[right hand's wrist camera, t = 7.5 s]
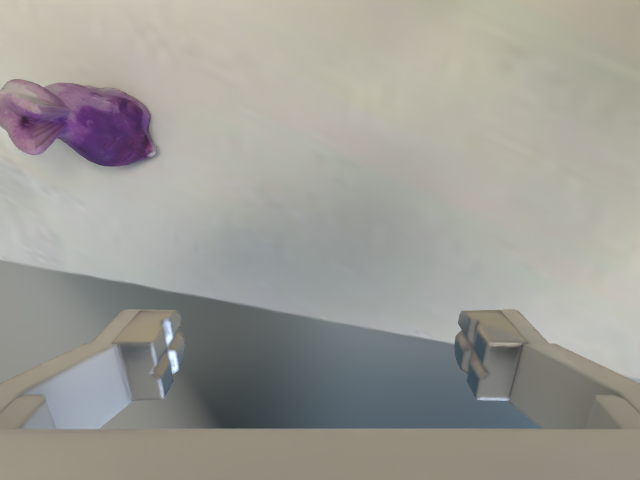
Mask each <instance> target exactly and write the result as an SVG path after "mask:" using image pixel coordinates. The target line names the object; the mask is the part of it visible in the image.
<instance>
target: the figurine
mask: <svg viewBox="0 0 640 480" xmlns="http://www.w3.org/2000/svg"><path fill="white" fill-rule="evenodd" d="M149 121H150V114H149V111H148V110H147V108H146V107H145V106H144V105H143V104H142V103H141V102H139V101H138V100H137V99H135V98H133V97H131V96H129V95H127V94H126V93H124V92H122V91H119V90H116V89H114V88H102V89H98V88H94V87H91V86H82V85H78V84H72V83H56V84H52V85H48V86H46V87H44V88H43V87H42V86H40V85H38V84H35V83H33V82H29V81H26V80H20V79H15V80H10V81H8V82H7V83H6V84H5V85H4V86H3V88H2V89H1V90H0V126H1V127H2V128H3V129H5V130H6V131H7V132H8V134H9V137H10V138H11V140H12V142H13V143H14V144H15V146H16V147H18V149H19V150H21V151H23V152H25V153H27V154H31V155H37V154H41V153H43V152H44V151H45V150H46V149H47V148H48V147H49V146H50V145H51V144H52V143H53V142H54V141H55V139H56V138H57V137H58V138H59V139H61V140H62V141H64V142H65V143H67V144H68V145H69V146H70V147H72V148H73V149H74V150H75V151H76V152H77V153H79V154H80V155H81V156H83V157H84V158H86V159H87V160H89V161H91V162H94V163H96V164H99V165H102V166H122V165H128V164H131V163H133V162H136V161H139V160H143V159H147V158H151V157H153V156H154V155H155V154H156V146H155V145H154V144H153V142H152V140H151V138H150V136H149V133H148V124H149Z"/></svg>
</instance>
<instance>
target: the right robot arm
mask: <svg viewBox="0 0 640 480" xmlns="http://www.w3.org/2000/svg"><path fill="white" fill-rule="evenodd" d="M181 324H182V321H181V316H180V313H179V312H178V311H177V310H141V309H135V310H123V311H121V312H120V313H119V314H118V315H117V316H116V317H115V318H114V319H113V321H112V322H111V323H110V324H109V325H108V326H107V327H106V328H105V329H104V330H103V331H102V332H101V333H100V334H99V335H98V336H97V337H96V339H95V340H94V341H93V342H92V343H91V344H83V345H81V346H79V347H77V348H75V349H73V350H71V351H68V352H66V353H64V354H62V355H60V356H58V357H56V358H54V359H51V360H49V361H47V362H45V363H43V364H41V365H39V366H37V367H34V368H32V369H30V370H28V371H26V372H24V373H22V374H19V375H17V376H15V377H13V378H11V379H9V380H7V381H4V382H2V383H0V480H640V383H637V382H635V381H633V380H631V379H629V378H627V377H625V376H623V375H620V374H618V373H616V372H614V371H612V370H610V369H608V368H606V367H603V366H601V365H599V364H597V363H595V362H593V361H591V360H589V359H586V358H584V357H582V356H580V355H578V354H576V353H574V352H572V351H569V350H567V349H565V348H563V347H561V346H559V345H557V344H549V343H548V342H547V341H546V340H545V339H544V337H543V336H542V335H541V334H540V333H539V332H538V331H537V330H536V329H535V328H534V327H533V326H532V325H531V324H530V323H529V322H528V320H527V319H526V318H525V317H524V316H523V315H522V314H521V313H520V312H519V311H517V310H515V309H507V310H478V311H461V313H460V315H459V320H458V324H459V326H460V327H461V329H462V330H461V331H460V332H459V333H458V334H457V335H456V338H455V346H454V347H455V356H456V360H457V363H458V365H459V367H460V369H461V370H462V371H464V372H465V373H467V374H468V377H467V382H468V384H469V386H470V388H471V390H472V392H473V394H474V396H475V398H476V399H477V400H507V401H509V403H511V404H512V405H513V406H514V407H516V408H517V409H518V410H519V411H520V412H522V413H523V414H524V415H525V416H527V417H528V418H529V419H530V420H532V421H533V422H534V423H535V424H536V425H538V426H539V427H540V428H541V429H99V428H100V427H101V426H102V425H104V424H105V423H106V422H107V421H109V420H110V419H111V418H112V417H114V416H115V415H116V414H117V413H119V412H120V411H121V410H122V409H123V408H125V407H126V406H127V405H128V404H130V403H131V401H133V400H163V399H164V398H165V396H166V394H167V392H168V390H169V388H170V386H171V384H172V383H173V377H172V374H173V373H175V372H176V371H178V370H179V369H180V367H181V365H182V363H183V360H184V355H185V338H184V335H183V334H182V333H181V332H180V331H179V330H178V329H179V327H180V326H181Z"/></svg>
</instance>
